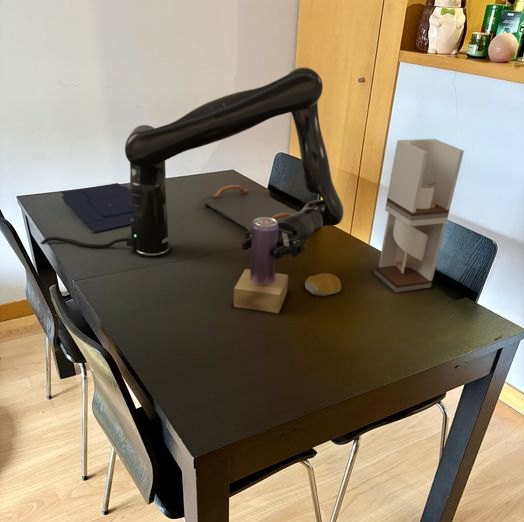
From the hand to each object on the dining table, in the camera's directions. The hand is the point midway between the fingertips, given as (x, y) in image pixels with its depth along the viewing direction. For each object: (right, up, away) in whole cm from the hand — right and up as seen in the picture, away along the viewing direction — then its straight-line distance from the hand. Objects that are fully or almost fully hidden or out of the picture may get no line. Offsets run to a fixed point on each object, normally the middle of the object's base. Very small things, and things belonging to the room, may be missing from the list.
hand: (259, 250), depth 126 cm
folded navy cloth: (-50, +23, +54) cm, 77 cm away
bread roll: (+16, -7, +15) cm, 23 cm away
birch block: (0, -10, +9) cm, 14 cm away
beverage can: (+1, -6, +6) cm, 9 cm away
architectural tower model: (+38, -4, +22) cm, 44 cm away
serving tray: (-2, +21, +56) cm, 60 cm away
